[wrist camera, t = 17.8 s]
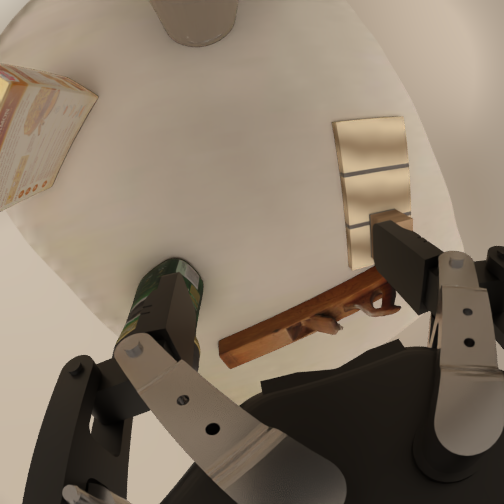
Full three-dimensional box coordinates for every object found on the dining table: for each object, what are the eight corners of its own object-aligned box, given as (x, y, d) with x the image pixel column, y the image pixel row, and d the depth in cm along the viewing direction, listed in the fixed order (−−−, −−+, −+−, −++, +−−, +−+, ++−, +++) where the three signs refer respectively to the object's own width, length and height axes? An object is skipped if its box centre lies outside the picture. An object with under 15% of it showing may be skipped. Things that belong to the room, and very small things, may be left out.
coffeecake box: (66, 76, 28) (-26, 57, 10) (100, 96, 30) (11, 81, 12) (22, 165, 32) (-69, 201, 14) (52, 188, 34) (-37, 237, 16)
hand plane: (397, 243, 44) (431, 270, 35) (403, 267, 46) (435, 296, 37) (217, 340, 48) (218, 383, 39) (232, 358, 50) (236, 401, 41)
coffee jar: (166, 318, 45) (148, 411, 28) (132, 283, 41) (93, 371, 25) (213, 286, 43) (213, 381, 26) (178, 247, 40) (154, 332, 23)
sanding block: (368, 214, 39) (386, 225, 35) (394, 208, 39) (412, 218, 35) (370, 257, 42) (386, 271, 38) (394, 250, 42) (411, 263, 38)
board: (331, 122, 35) (336, 122, 34) (397, 116, 35) (403, 116, 34) (348, 266, 44) (352, 270, 43) (405, 250, 44) (410, 253, 43)
